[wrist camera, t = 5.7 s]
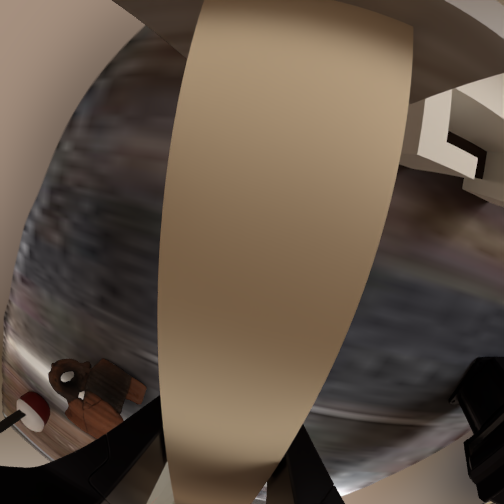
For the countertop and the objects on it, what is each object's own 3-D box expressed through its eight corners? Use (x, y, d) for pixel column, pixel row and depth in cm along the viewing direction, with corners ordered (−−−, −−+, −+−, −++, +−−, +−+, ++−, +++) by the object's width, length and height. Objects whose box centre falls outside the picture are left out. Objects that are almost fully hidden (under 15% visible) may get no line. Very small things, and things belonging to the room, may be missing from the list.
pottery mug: (173, 399, 25) (143, 462, 20) (137, 385, 31) (111, 434, 26) (77, 334, 20) (36, 407, 15) (62, 331, 26) (31, 385, 21)
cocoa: (53, 416, 34) (25, 459, 23) (27, 394, 33) (-3, 435, 22) (57, 402, 30) (23, 454, 19) (28, 376, 29) (-10, 424, 18)
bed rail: (261, 490, 14) (252, 549, 9) (169, 470, 14) (148, 525, 9) (413, 80, 6) (526, 25, 1) (194, 37, 6) (99, -53, 1)
